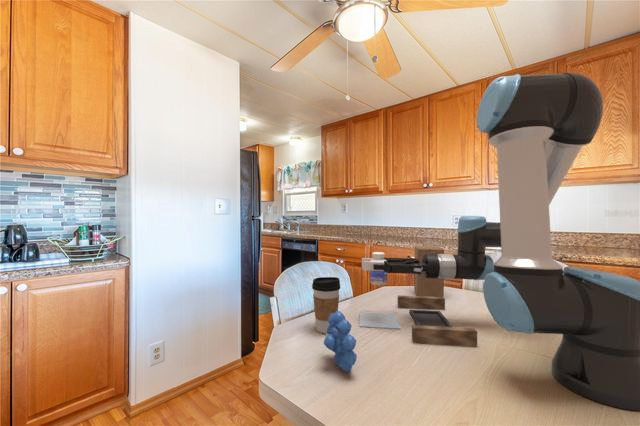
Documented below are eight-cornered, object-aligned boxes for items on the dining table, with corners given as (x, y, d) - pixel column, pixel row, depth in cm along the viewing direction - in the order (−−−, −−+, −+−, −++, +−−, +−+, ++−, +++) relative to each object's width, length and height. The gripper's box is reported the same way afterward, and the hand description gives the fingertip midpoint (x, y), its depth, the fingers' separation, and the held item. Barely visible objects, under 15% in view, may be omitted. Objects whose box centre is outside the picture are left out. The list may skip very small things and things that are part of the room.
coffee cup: (336, 337, 80) (336, 283, 79) (307, 332, 82) (307, 280, 82) (343, 325, 88) (343, 276, 87) (317, 321, 90) (317, 274, 90)
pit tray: (439, 314, 97) (439, 310, 97) (456, 335, 81) (456, 330, 81) (409, 313, 98) (409, 309, 98) (419, 333, 82) (419, 329, 82)
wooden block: (443, 300, 112) (444, 249, 112) (417, 298, 114) (417, 248, 114) (438, 292, 122) (439, 245, 122) (414, 291, 124) (414, 245, 124)
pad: (394, 314, 97) (394, 313, 97) (400, 329, 85) (400, 328, 85) (359, 312, 98) (359, 311, 98) (359, 327, 86) (359, 326, 86)
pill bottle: (387, 286, 88) (388, 254, 88) (370, 285, 89) (370, 254, 89) (386, 281, 94) (386, 251, 94) (369, 280, 95) (370, 251, 94)
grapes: (313, 357, 69) (313, 307, 69) (339, 351, 71) (339, 303, 71) (334, 384, 58) (334, 325, 58) (363, 377, 61) (363, 320, 61)
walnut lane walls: (443, 308, 103) (443, 297, 103) (477, 346, 74) (477, 331, 74) (397, 306, 105) (397, 295, 105) (413, 343, 76) (413, 328, 76)
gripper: (446, 286, 80) (362, 283, 83) (429, 271, 98) (361, 269, 101) (446, 259, 80) (362, 257, 83) (429, 249, 98) (361, 248, 101)
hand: (362, 264), depth 92 cm, fingers closed on pill bottle, 5 cm apart
